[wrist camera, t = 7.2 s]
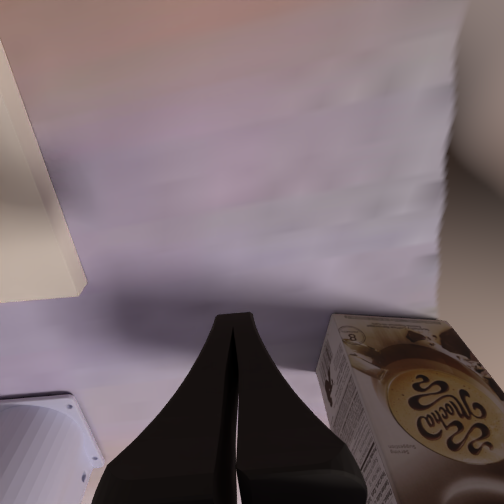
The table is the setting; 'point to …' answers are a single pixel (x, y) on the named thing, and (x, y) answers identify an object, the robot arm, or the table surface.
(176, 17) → the table surface
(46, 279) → the shaft housing
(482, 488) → the coffee box
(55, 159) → the table surface
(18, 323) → the table surface
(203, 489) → the robot arm
